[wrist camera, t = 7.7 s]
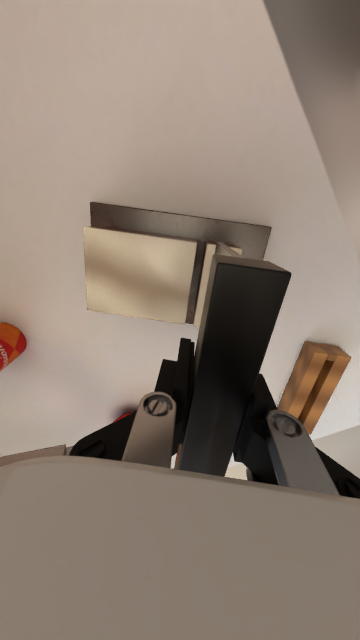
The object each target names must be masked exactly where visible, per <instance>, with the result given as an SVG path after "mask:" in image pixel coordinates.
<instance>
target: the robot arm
mask: <svg viewBox="0 0 360 640" xmlns="http://www.w3.org/2000/svg"><path fill="white" fill-rule="evenodd" d="M193 361H194V342H191V339H186V338H181V341H180V347H179V354H178V360H177V361H171V360H165V359H163V361H162V365H161V369H160V372H159V376H158V380H157V384H156V387H155V391H154V392H152V393H149V394H147V395H145V396H144V397H143V398H142V399H141V401H140V404H139V407H138V410H137V411H135V412H133V413H131V414H129V415H127V416H125V417H123V418H121V419H119V420H117V421H115V422H113V423H111V424H109V425H107V426H106V427H104V428H102V429H100V430H98V431H96V432H94V433H92V434H90V435H88V436H86V437H84V438H82V439H81V440H79V441H78V442H77V443H76V444H75V445H74V446H71V447H66V444H64V445H59V446H54V447H49V448H44V449H39V450H34V451H28V452H23V453H18V454H13V455H8V456H3V457H0V640H360V479H359V478H358V477H356V476H355V475H353V474H352V473H351V472H349V471H348V470H346V469H345V468H344V467H343V466H341V465H340V464H338V463H337V462H336V461H334V460H333V459H331V458H330V457H329V456H327V455H326V454H325V453H323V452H322V451H320V450H319V449H318V448H316V447H315V446H314V444H313V443H312V440H311V439H310V437H309V435H308V433H307V431H306V429H305V427H304V426H303V424H302V423H301V422H300V421H299V420H298V419H297V418H296V417H294V416H293V415H292V414H290V413H287V412H285V411H281V410H278V409H277V407H276V405H275V402H274V400H273V398H272V395H271V393H270V391H269V389H268V386H267V384H266V382H265V379H264V377H263V375H262V374H258V377H257V380H256V383H255V386H254V389H253V392H252V395H251V398H250V401H249V404H248V407H247V410H246V413H245V416H244V419H243V422H242V425H241V428H240V431H239V434H238V437H237V440H236V443H235V446H234V449H233V455H234V461H236V462H242V463H243V464H244V465H245V466H246V467H247V469H246V474H247V479H248V481H247V480H241V479H235V478H228V477H222V476H216V475H209V474H203V473H197V472H190V471H184V470H177V469H171V468H170V467H171V457H172V456H173V455H174V454H176V453H177V452H178V449H179V444H182V443H183V438H184V432H185V427H186V422H187V417H188V411H189V406H190V401H191V395H192V386H193Z"/></svg>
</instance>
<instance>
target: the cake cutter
mask: <svg viewBox="0 0 360 640" xmlns="http://www.w3.org/2000/svg"><path fill="white" fill-rule="evenodd" d="M290 278H291V273H290V272H289V271H287V270H285V269H283V268H281V267H279V266H277V265H275V264H273V263H271V262H268V261H261V260H254V259H247V258H245V257H243V256H242V255H240V254H239V253H237V252H236V251H234V250H233V249H231V248H230V247H228V246H227V245H225V244H224V243H222V242H217V243H216V248H215V254H213V256H212V261H211V267H210V272H209V278H208V284H207V289H206V295H205V300H204V306H203V311H202V317H201V322H200V328H199V333H198V339H197V345H196V350H195V356H194V361H193V386H192V395H191V401H190V406H189V411H188V417H187V422H186V427H185V432H184V438H183V443H182V444H179V449H178V452H177V456H176V461H175V467H174V469H177V470H184V471H190V472H197V473H203V474H209V475H216V476H222V477H224V476H225V473H226V470H227V467H228V464H229V461H230V458H231V455H232V452H233V449H234V446H235V443H236V440H237V437H238V434H239V431H240V428H241V425H242V422H243V419H244V416H245V413H246V410H247V407H248V404H249V401H250V398H251V395H252V392H253V389H254V386H255V383H256V380H257V377H258V374H259V371H260V368H261V365H262V362H263V359H264V356H265V353H266V350H267V347H268V344H269V341H270V338H271V335H272V332H273V329H274V326H275V323H276V320H277V317H278V314H279V311H280V308H281V305H282V302H283V299H284V296H285V293H286V290H287V287H288V284H289V281H290Z"/></svg>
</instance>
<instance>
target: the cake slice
mask: <svg viewBox="0 0 360 640" xmlns="http://www.w3.org/2000/svg"><path fill="white" fill-rule="evenodd" d="M216 243H217V242H213V241H205V247H204V253H203V259H202V265H201V271H200V277H199V283H198V289H197V295H196V301H195V307H194V326H198V327H200V322H201V317H202V311H203V306H204V300H205V295H206V289H207V284H208V278H209V272H210V267H211V261H212V256H213V254H215V248H216ZM224 244H225V245H227V246H228V247H230V248H231V249H233V250H234V251H236V252H237V253H239V254H240V255H241V253H242V249H241V248H239V247H237V246H235V245H233V244H227V243H224Z"/></svg>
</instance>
